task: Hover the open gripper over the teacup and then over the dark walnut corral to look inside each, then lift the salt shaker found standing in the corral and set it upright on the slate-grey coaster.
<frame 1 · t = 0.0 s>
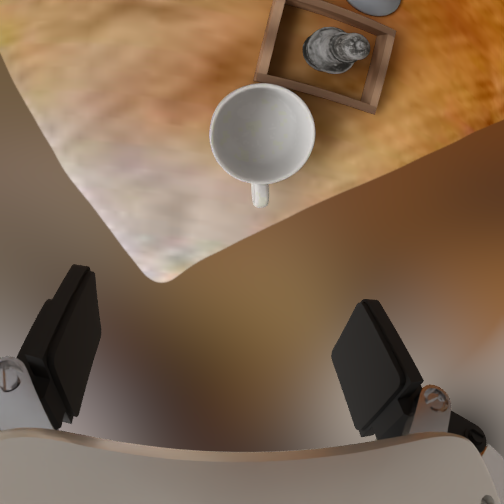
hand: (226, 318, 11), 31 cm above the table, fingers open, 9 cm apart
walnut corral: (323, 51, 32), on the table
teacup: (252, 136, 38), on the table
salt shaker: (322, 52, 32), resting in walnut corral
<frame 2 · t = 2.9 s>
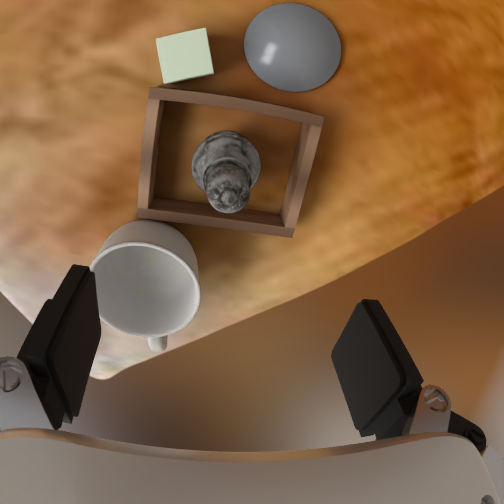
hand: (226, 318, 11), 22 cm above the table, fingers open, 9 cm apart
slate coaster: (292, 46, 24), on the table
walnut corral: (225, 157, 29), on the table
teacup: (154, 263, 35), on the table
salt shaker: (225, 157, 29), resting in walnut corral
sage block: (189, 59, 24), on the table
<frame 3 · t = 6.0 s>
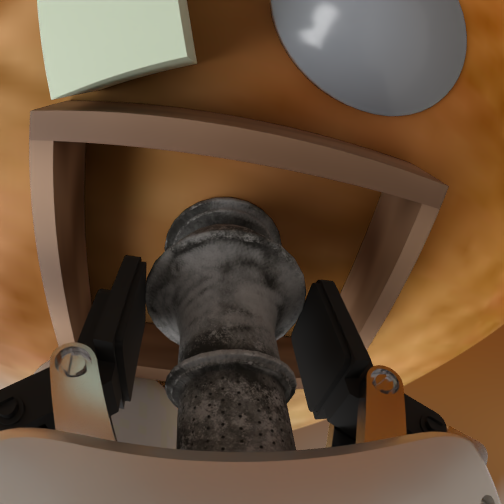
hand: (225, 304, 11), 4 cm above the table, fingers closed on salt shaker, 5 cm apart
slate coaster: (378, 14, 9), on the table
walnut corral: (223, 252, 14), on the table
teacup: (115, 391, 20), on the table
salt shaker: (223, 249, 14), resting in walnut corral, touching gripper
sage block: (137, 29, 9), on the table
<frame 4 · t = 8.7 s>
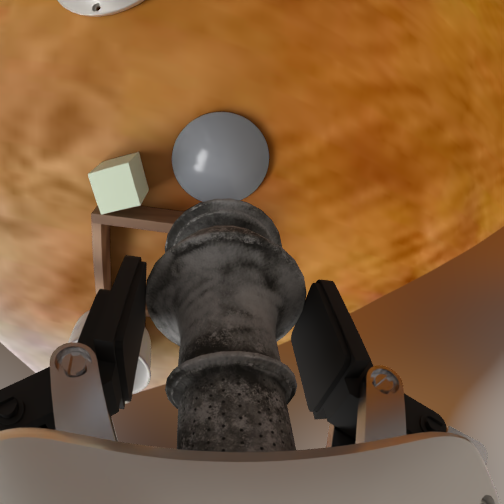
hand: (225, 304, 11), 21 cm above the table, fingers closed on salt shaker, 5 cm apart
slate coaster: (220, 158, 29), on the table
walnut corral: (166, 259, 34), on the table
teacup: (119, 332, 39), on the table
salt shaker: (223, 250, 14), point 17 cm above the table, touching gripper
sage block: (125, 175, 29), on the table
when the fingers open (5 cm above the table, at t = 11.9 s): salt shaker stays where it is, resting on slate coaster.
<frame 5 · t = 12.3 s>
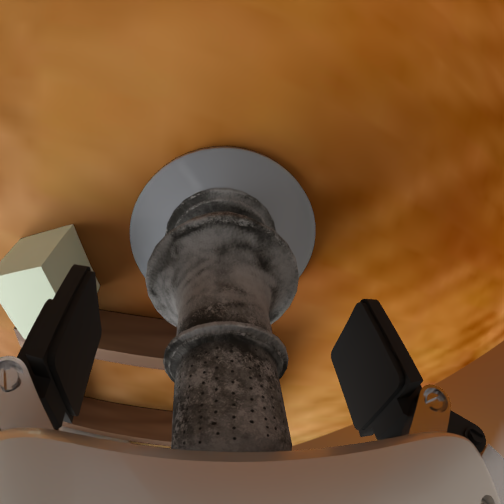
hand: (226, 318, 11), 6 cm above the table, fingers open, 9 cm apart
slate coaster: (222, 236, 16), on the table
walnut corral: (142, 375, 21), on the table
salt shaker: (220, 238, 15), resting on slate coaster
sage block: (59, 261, 15), on the table
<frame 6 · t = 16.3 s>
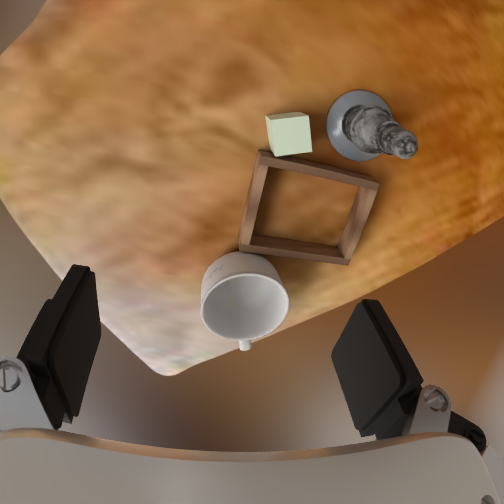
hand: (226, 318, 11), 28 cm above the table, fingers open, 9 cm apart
slate coaster: (360, 125, 35), on the table
walnut corral: (304, 206, 40), on the table
teacup: (238, 282, 45), on the table
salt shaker: (360, 125, 34), resting on slate coaster
sage block: (284, 129, 35), on the table
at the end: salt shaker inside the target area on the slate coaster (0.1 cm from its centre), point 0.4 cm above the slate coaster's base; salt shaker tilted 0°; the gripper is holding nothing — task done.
